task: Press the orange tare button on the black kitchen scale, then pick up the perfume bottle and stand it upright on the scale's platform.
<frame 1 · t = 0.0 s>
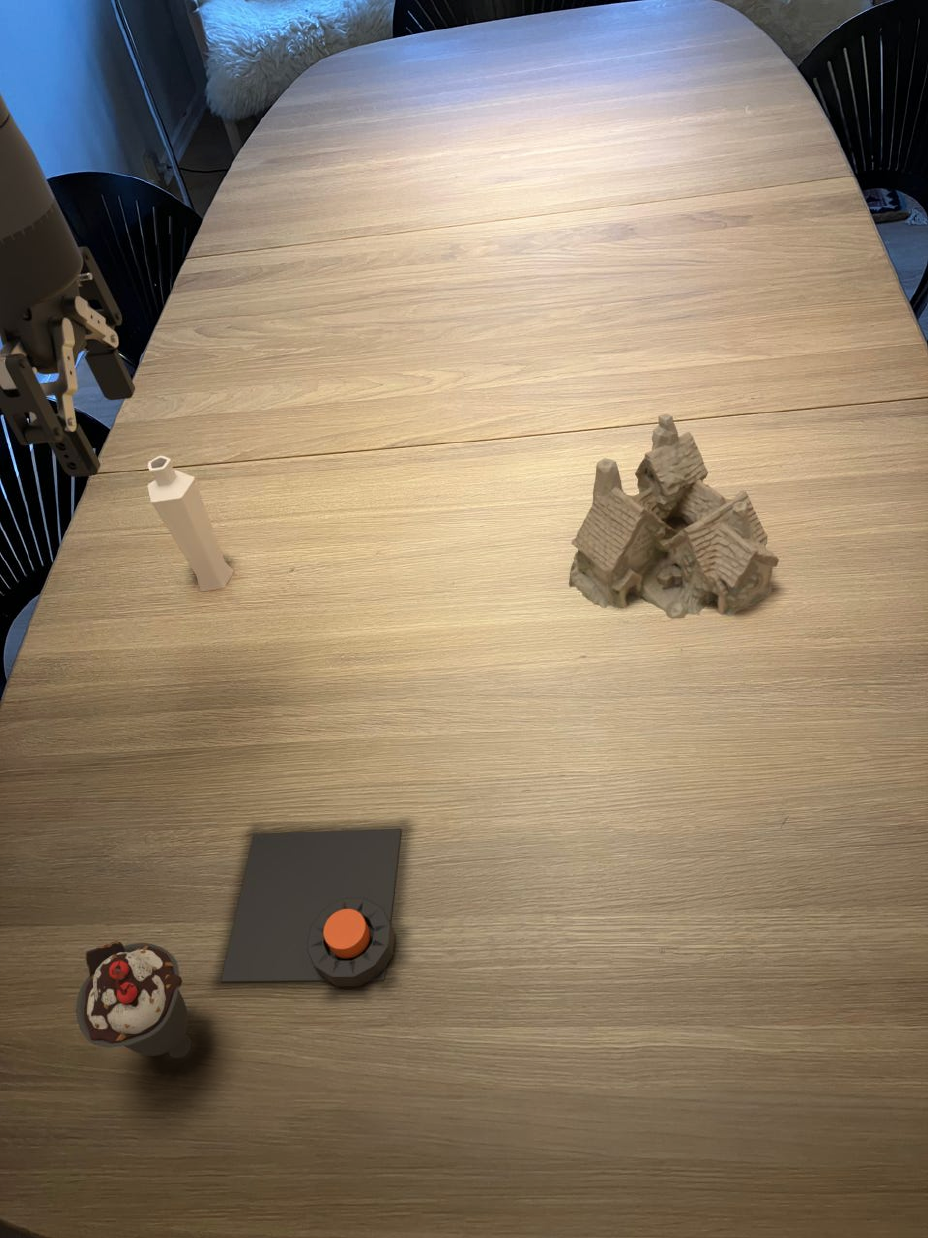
hand: (104, 433, 72), 30 cm above the table, tool pointing down, fingers open, 8 cm apart
ceramic cottage: (668, 584, 94), on the table
tare button: (347, 933, 72), point 3 cm above the table, slide at 0.1 cm
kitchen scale: (319, 910, 77), on the table
sundae: (188, 1053, 72), on the table
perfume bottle: (214, 580, 105), on the table
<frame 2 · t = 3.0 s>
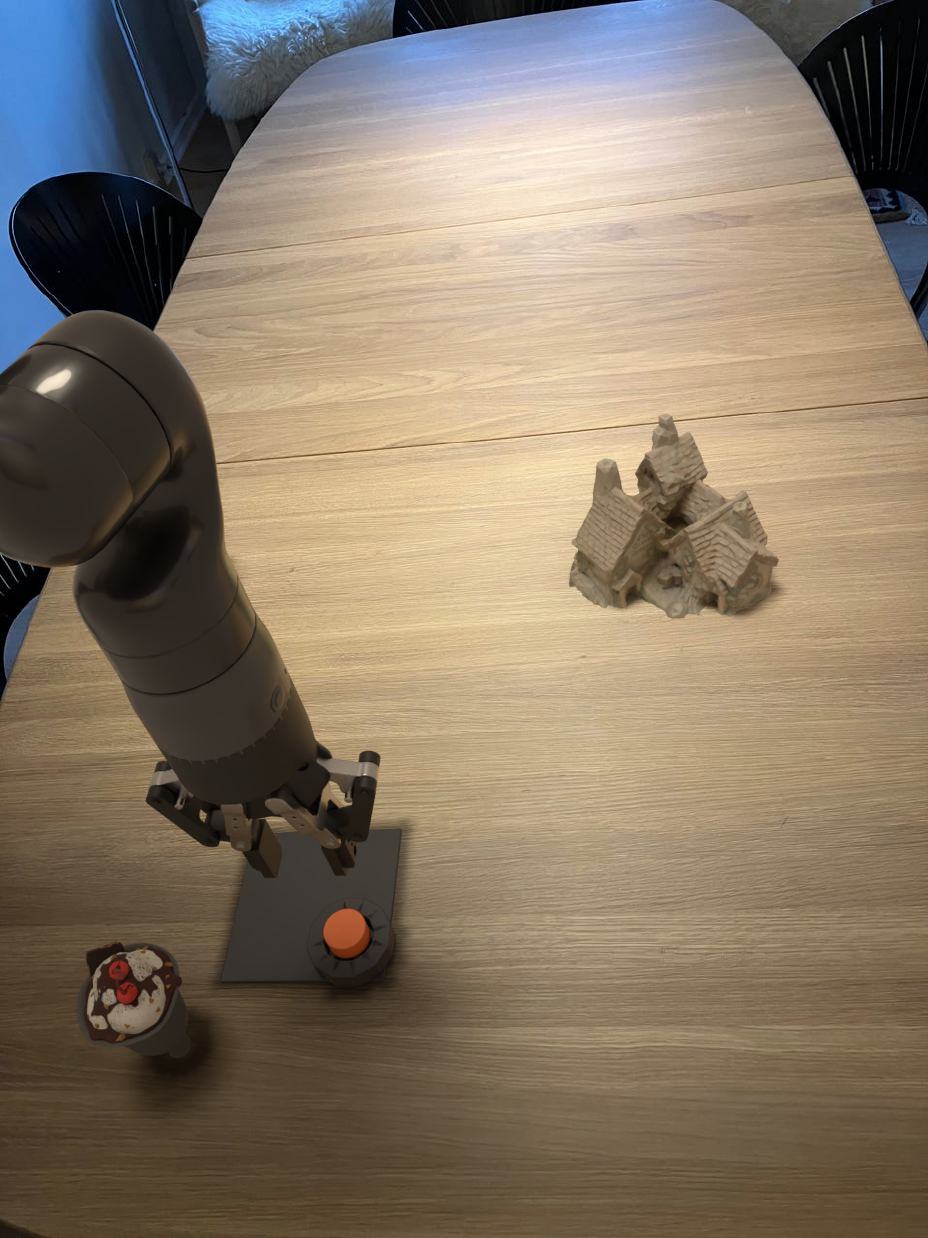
hand: (308, 863, 65), 13 cm above the table, tool pointing down, fingers open, 4 cm apart
nothing on the table moved.
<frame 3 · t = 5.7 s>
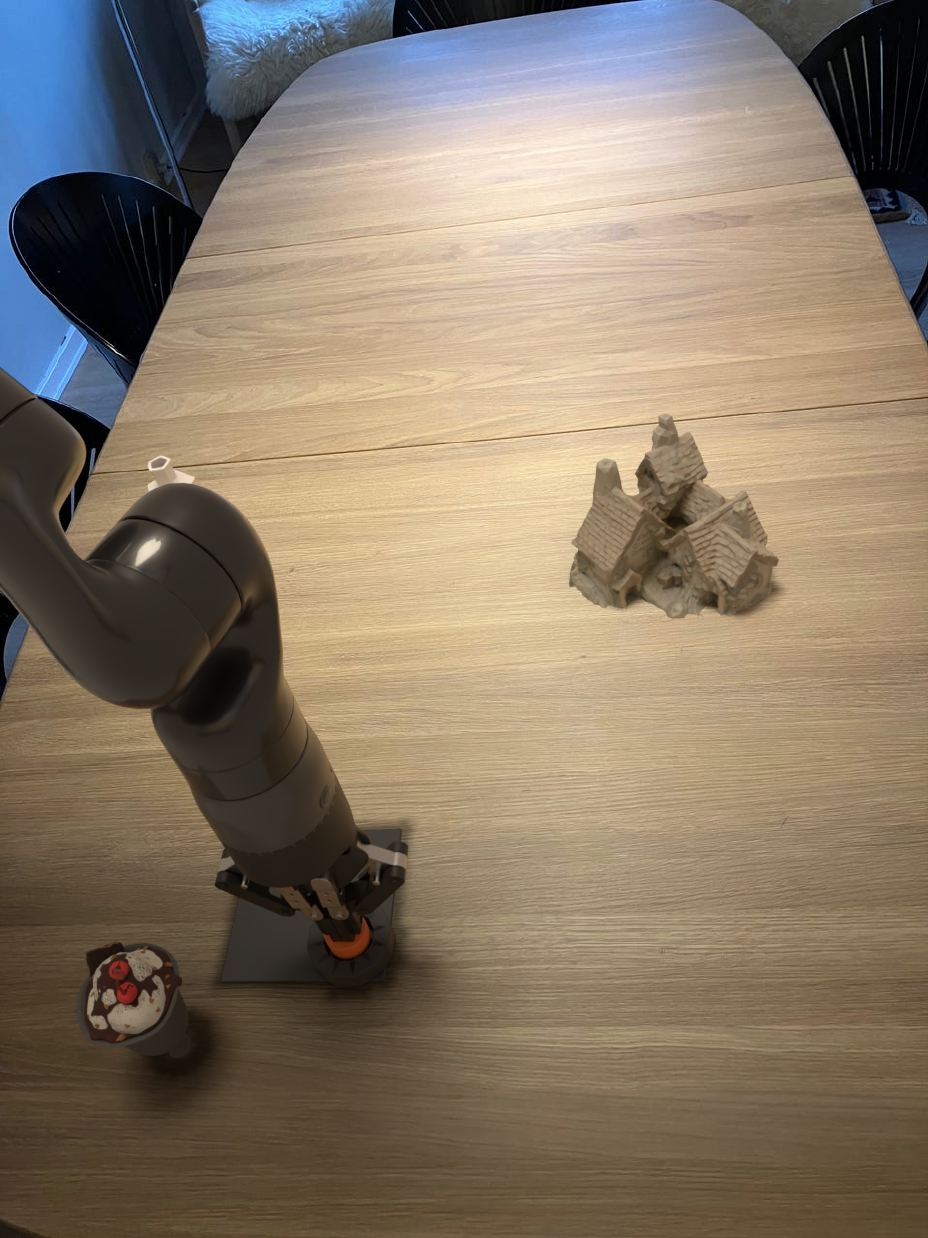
hand: (345, 929, 71), 4 cm above the table, tool pointing down, fingers closed
tare button: (347, 934, 72), point 3 cm above the table, slide at 0.0 cm, touching gripper
everything else where it was.
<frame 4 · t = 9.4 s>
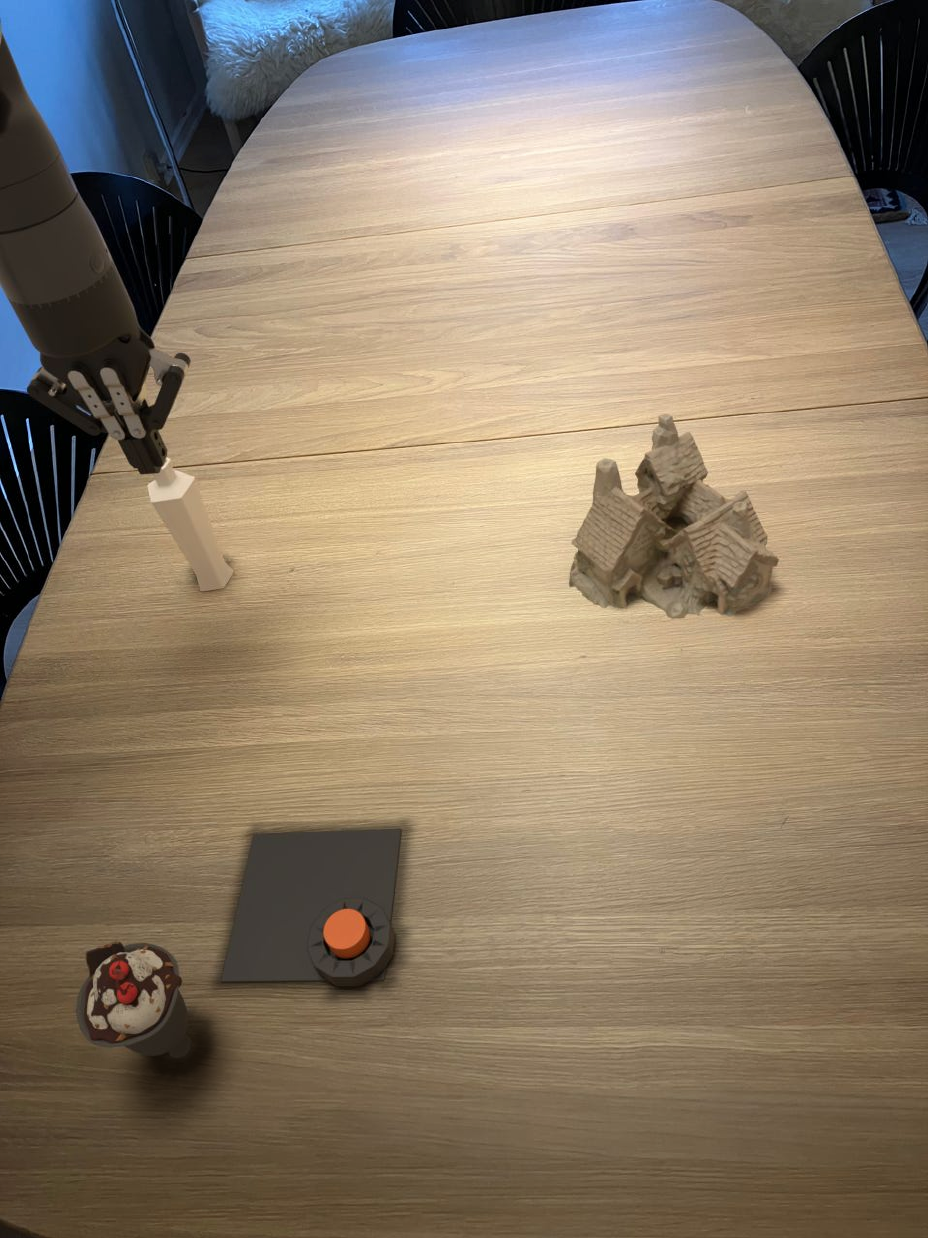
hand: (153, 467, 83), 21 cm above the table, tool pointing down, fingers closed
tare button: (347, 933, 72), point 3 cm above the table, slide at 0.1 cm
everything else where it was.
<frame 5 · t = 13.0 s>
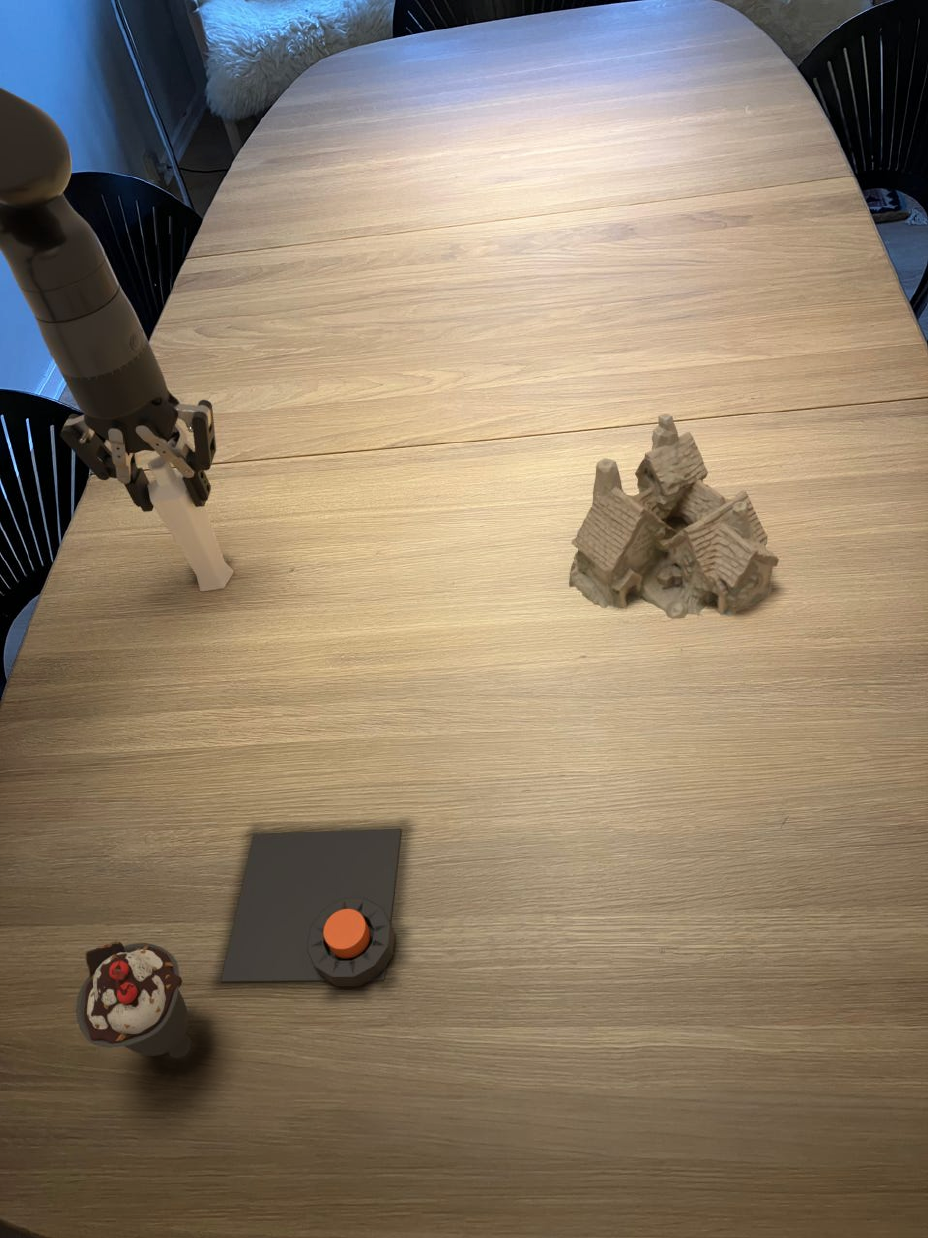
hand: (176, 502, 97), 10 cm above the table, tool pointing down, fingers closed on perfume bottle, 4 cm apart
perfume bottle: (214, 580, 105), on the table, touching gripper
everything else where it was.
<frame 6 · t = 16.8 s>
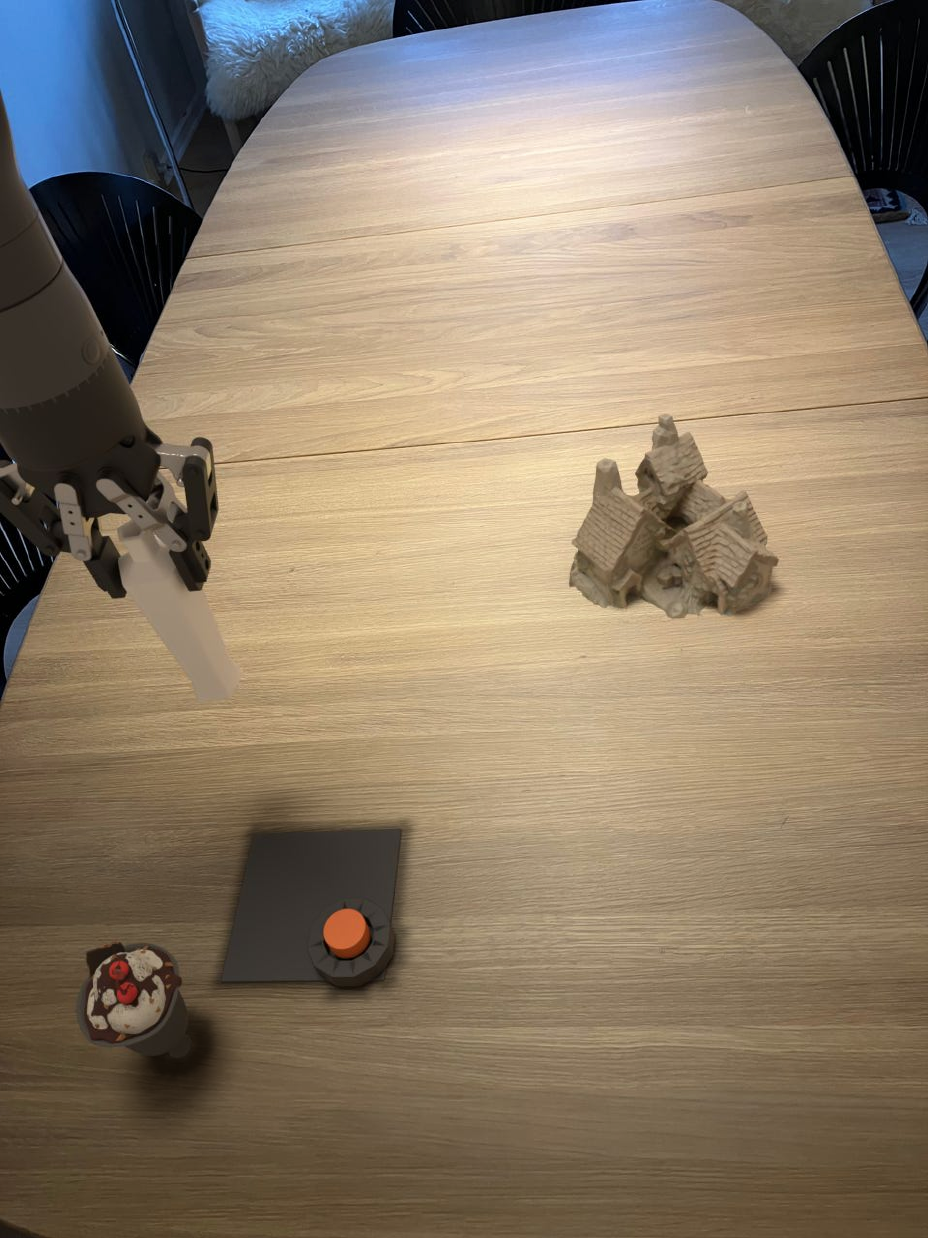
hand: (160, 584, 66), 25 cm above the table, tool pointing down, fingers closed on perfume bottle, 4 cm apart
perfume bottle: (215, 685, 74), point 15 cm above the table, touching gripper
everything else where it was.
when the fingers open (12 cm above the table, at t = 21.1 s): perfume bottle stays where it is, resting on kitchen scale.
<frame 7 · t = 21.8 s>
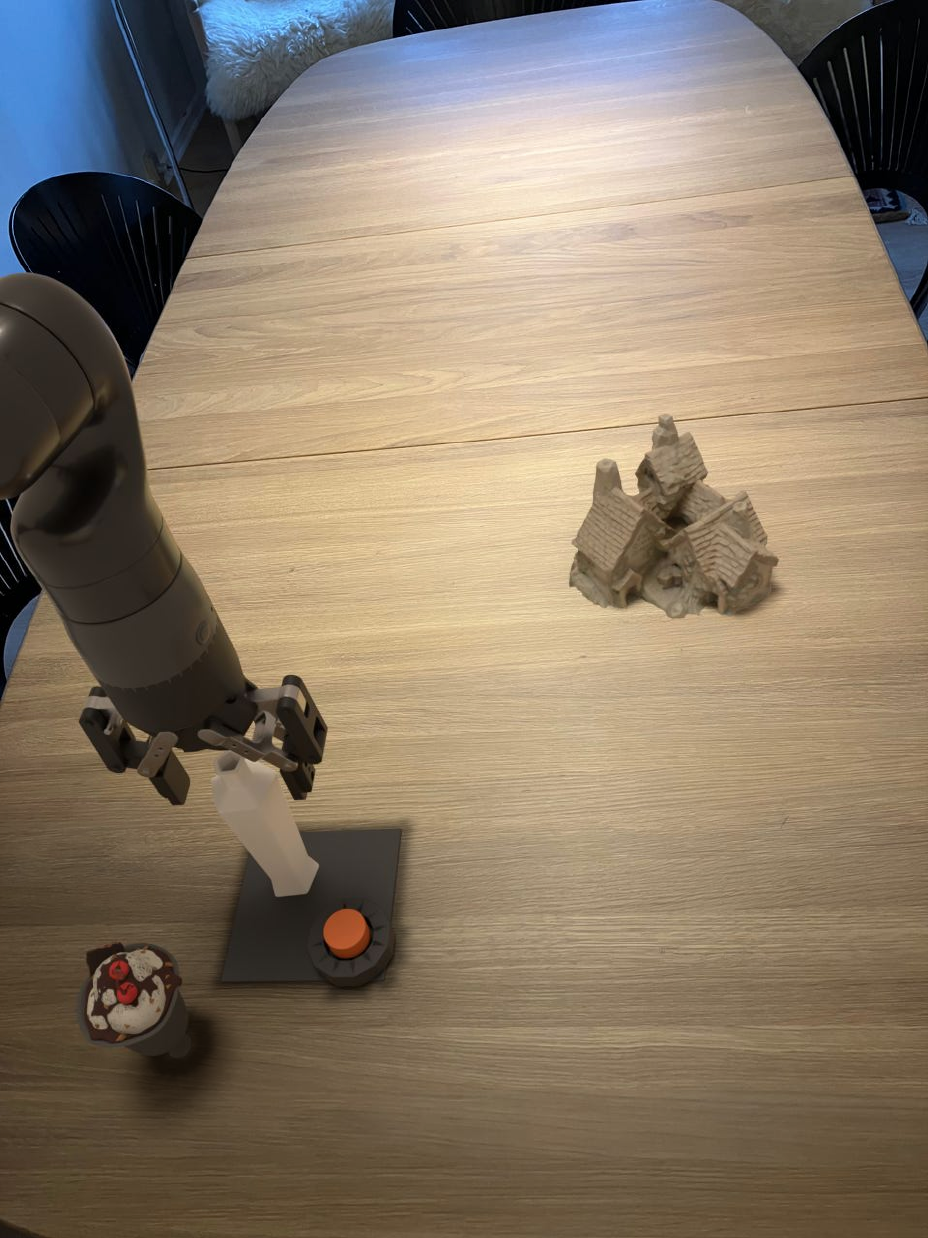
hand: (242, 791, 69), 13 cm above the table, tool pointing down, fingers open, 8 cm apart
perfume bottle: (292, 878, 78), point 1 cm above the table, touching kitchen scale
everything else where it was.
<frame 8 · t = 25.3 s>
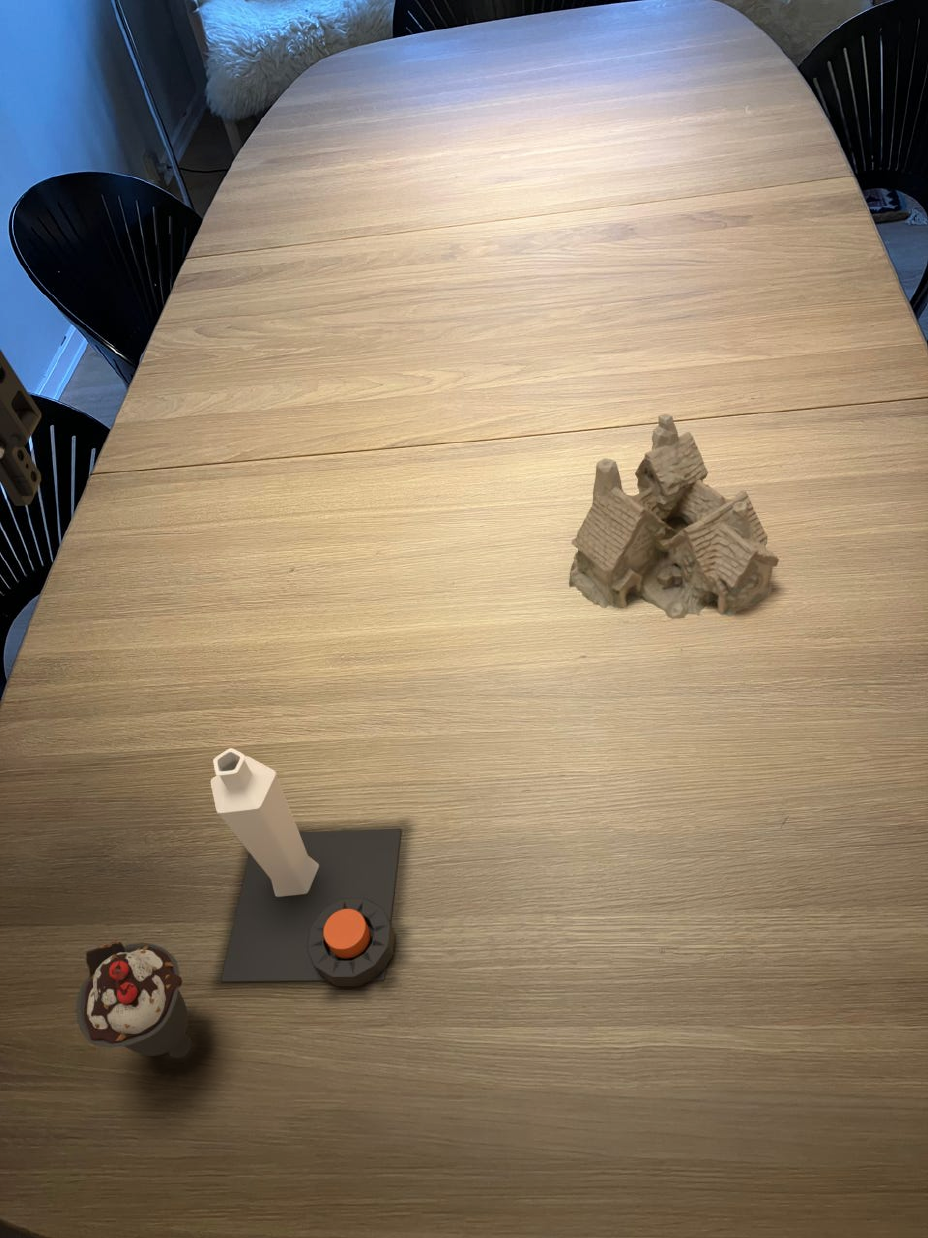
nothing on the table moved.
at the end: tare button pushed in 0.9 cm at the most during the clip, back to where it started at the end; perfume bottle inside the target area on the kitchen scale (3.0 cm from its centre), point 1.2 cm above the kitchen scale's base; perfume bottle touching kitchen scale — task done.
